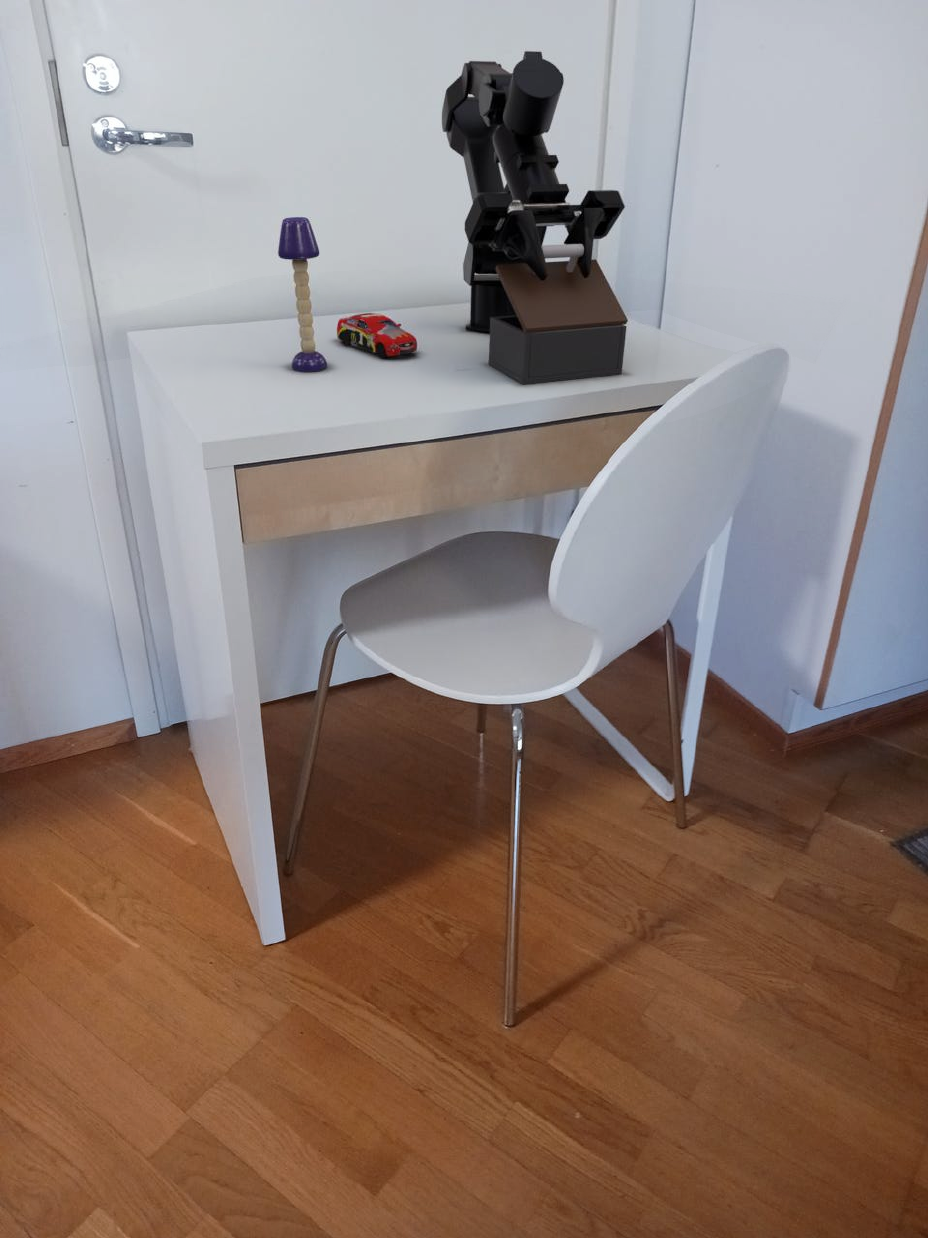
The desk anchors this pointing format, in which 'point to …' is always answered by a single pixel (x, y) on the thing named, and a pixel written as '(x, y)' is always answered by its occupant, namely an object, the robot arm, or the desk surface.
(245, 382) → the desk surface
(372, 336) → the race car
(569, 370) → the dark grey box
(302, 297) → the toy lamp
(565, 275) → the lid
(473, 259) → the robot arm
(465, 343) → the desk surface
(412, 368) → the desk surface
